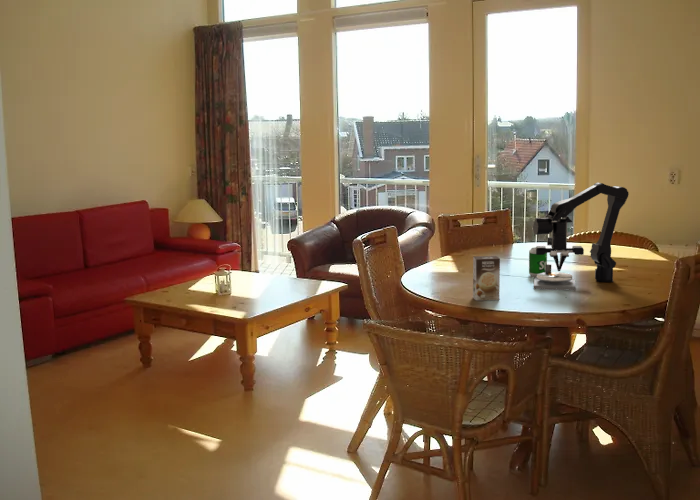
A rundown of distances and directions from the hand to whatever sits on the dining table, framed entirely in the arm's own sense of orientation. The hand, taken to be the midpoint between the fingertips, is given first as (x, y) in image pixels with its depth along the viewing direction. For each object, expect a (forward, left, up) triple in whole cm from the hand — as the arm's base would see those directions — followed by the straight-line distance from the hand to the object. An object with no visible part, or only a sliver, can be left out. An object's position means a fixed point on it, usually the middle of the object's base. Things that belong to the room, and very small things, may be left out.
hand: (558, 271), depth 306 cm
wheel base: (+2, +5, -5) cm, 7 cm away
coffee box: (+27, +31, -5) cm, 41 cm away
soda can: (+9, -14, -5) cm, 18 cm away
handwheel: (+2, +5, -2) cm, 5 cm away
